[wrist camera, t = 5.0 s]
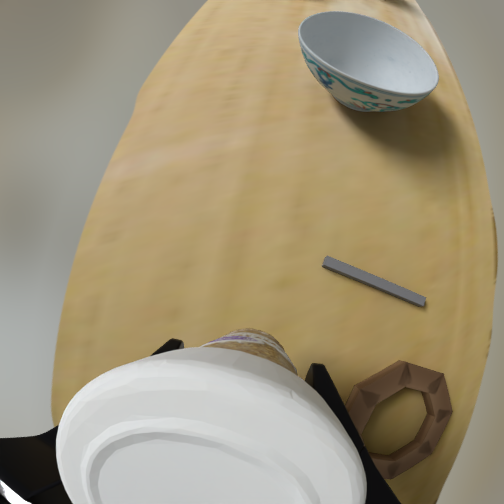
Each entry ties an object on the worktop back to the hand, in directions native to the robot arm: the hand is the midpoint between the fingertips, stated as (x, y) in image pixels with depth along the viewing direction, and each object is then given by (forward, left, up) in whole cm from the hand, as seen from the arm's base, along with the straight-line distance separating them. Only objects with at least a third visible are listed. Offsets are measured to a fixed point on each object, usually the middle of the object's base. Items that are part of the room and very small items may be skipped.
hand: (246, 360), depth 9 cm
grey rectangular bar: (+8, -8, -13) cm, 17 cm away
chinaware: (+29, -1, -13) cm, 32 cm away
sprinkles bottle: (-1, 0, -7) cm, 7 cm away
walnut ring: (-3, -15, -13) cm, 20 cm away
